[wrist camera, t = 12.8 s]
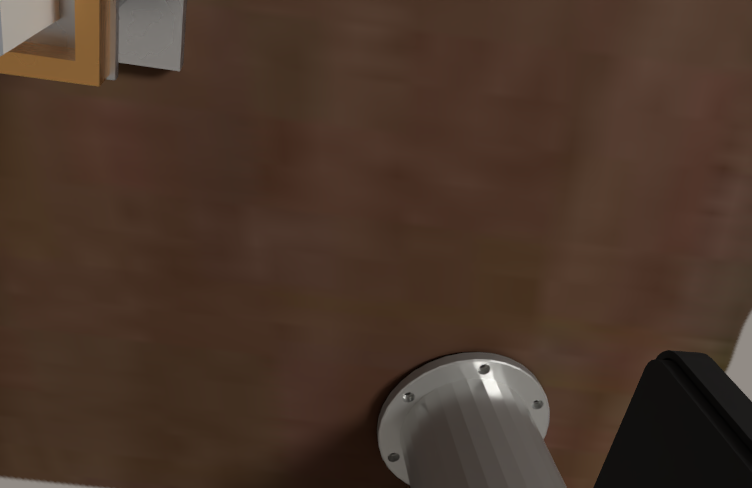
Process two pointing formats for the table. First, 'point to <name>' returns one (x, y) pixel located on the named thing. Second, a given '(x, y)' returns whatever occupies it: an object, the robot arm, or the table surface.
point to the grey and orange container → (102, 41)
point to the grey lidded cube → (24, 20)
